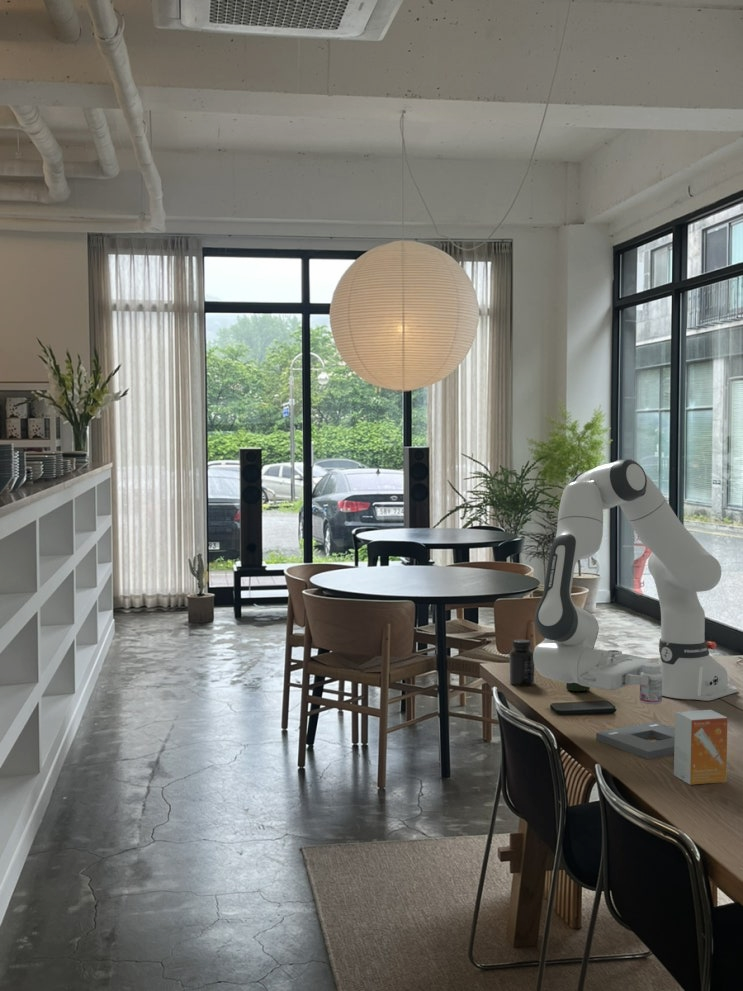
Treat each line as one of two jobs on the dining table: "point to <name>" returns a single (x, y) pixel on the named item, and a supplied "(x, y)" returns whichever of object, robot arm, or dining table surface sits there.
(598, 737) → the socket plate
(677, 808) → the dining table surface
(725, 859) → the dining table surface
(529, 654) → the supplement bottle
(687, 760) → the small box
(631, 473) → the robot arm
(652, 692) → the pill bottle
